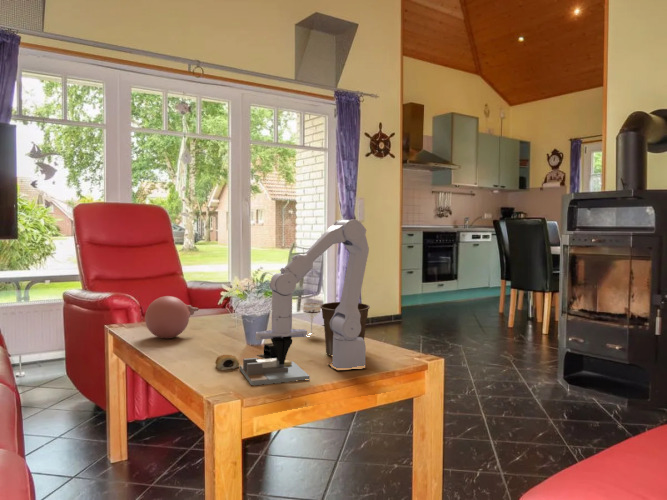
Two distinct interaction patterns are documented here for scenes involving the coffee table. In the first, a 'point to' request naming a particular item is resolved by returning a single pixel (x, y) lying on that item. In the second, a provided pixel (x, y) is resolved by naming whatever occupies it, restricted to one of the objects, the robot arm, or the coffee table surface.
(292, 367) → the door board
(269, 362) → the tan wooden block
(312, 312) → the wineglass
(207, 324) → the coffee table surface
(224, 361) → the pastry
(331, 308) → the plant pot
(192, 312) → the balloon
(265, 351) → the black block
